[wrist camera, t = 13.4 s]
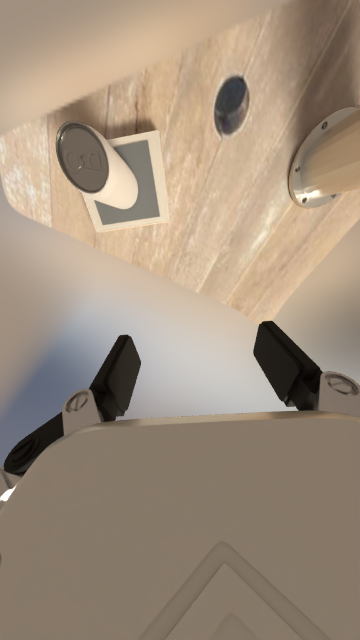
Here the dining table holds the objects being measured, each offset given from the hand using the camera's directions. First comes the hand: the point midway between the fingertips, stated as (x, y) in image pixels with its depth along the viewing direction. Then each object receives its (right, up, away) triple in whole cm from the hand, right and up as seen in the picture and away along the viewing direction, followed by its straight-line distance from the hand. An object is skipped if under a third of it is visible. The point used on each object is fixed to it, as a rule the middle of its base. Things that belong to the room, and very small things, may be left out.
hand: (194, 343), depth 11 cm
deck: (-12, +28, +18) cm, 35 cm away
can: (-12, +26, +15) cm, 33 cm away
